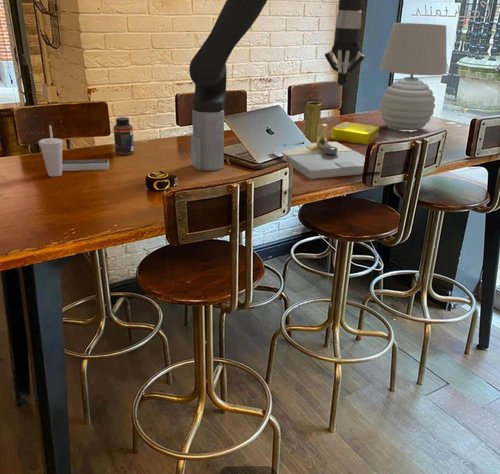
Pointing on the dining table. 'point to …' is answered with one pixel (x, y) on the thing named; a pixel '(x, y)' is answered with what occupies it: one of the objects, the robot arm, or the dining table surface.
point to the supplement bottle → (123, 137)
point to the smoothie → (52, 154)
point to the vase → (312, 120)
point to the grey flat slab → (325, 161)
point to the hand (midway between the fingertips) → (341, 85)
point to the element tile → (354, 132)
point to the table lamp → (412, 73)
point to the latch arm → (324, 140)
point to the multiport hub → (85, 164)
